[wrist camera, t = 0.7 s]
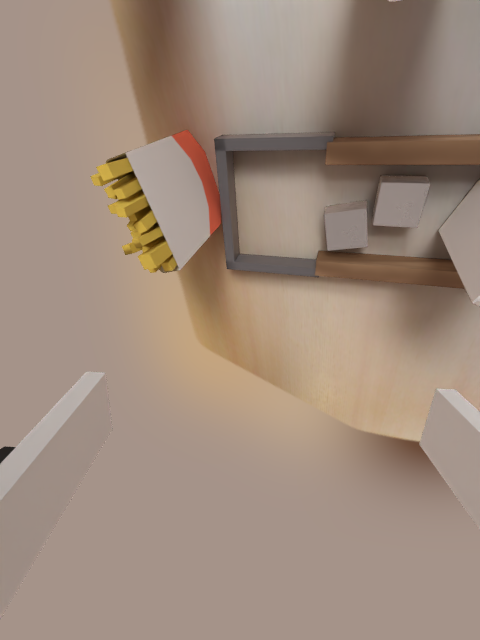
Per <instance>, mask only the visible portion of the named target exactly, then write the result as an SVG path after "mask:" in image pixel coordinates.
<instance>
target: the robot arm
mask: <svg viewBox="0 0 480 640" xmlns="http://www.w3.org/2000/svg"><path fill="white" fill-rule="evenodd" d="M111 431H112V421H111V413H110V405H109V397H108V388H107V381H106V373H101V372H86V373H85V374H84V375H83V376H82V377H81V378H80V379H79V380H78V382H77V383H76V384H75V385H74V386H73V387H72V388H71V389H70V390H69V391H68V392H67V393H66V394H65V395H64V396H63V397H62V399H61V400H60V401H59V402H58V403H57V404H56V405H55V406H54V407H53V408H52V409H51V410H50V411H49V412H48V413H47V415H46V416H45V417H44V418H43V419H42V420H41V421H40V422H39V423H38V424H37V425H36V426H35V428H33V429H32V431H31V432H30V433H29V434H28V435H27V436H26V437H25V438H24V439H23V440H22V441H21V442H20V443H19V444H18V446H17V447H3V448H1V449H0V619H1V617H2V616H3V614H4V612H5V611H6V609H7V607H8V605H9V604H10V602H11V600H12V599H13V597H14V595H15V594H16V592H17V590H18V589H19V587H20V585H21V583H22V582H23V580H24V578H25V577H26V575H27V573H28V572H29V570H30V568H31V566H32V565H33V563H34V561H35V560H36V558H37V556H38V554H39V553H40V551H41V550H42V548H43V546H44V544H45V543H46V541H47V539H48V538H49V536H50V534H51V533H52V531H53V529H54V527H55V526H56V524H57V522H58V521H59V519H60V517H61V516H62V514H63V512H64V511H65V509H66V507H67V505H68V504H69V502H70V500H71V498H72V497H73V495H74V494H75V492H76V490H77V488H78V487H79V485H80V483H81V481H82V480H83V478H84V477H85V475H86V473H87V472H88V470H89V468H90V466H91V465H92V463H93V461H94V460H95V458H96V456H97V455H98V453H99V451H100V449H101V448H102V446H103V444H104V443H105V441H106V439H107V438H108V436H109V434H110V432H111ZM420 446H421V447H422V449H423V450H424V452H425V453H426V454H427V456H428V457H429V459H430V460H431V462H432V463H433V464H434V466H435V467H436V469H437V470H438V472H439V473H440V474H441V476H442V477H443V479H444V480H445V481H446V483H447V484H448V486H449V487H450V489H451V490H452V492H453V493H454V494H455V496H456V497H457V499H458V500H459V501H460V503H461V504H462V506H463V507H464V509H465V510H466V511H467V513H468V514H469V516H470V517H471V519H472V520H473V521H474V523H475V524H476V526H477V527H478V528H479V530H480V412H479V411H478V410H477V409H476V408H475V407H474V406H473V405H472V404H471V403H470V402H468V401H467V400H466V399H465V398H464V397H463V396H462V395H461V394H460V393H459V392H457V391H456V390H454V389H436V390H435V394H434V397H433V400H432V404H431V407H430V410H429V414H428V417H427V420H426V424H425V427H424V430H423V434H422V437H421V440H420Z"/></svg>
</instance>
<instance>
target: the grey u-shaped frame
mask: <svg viewBox="0 0 480 640" xmlns="http://www.w3.org/2000/svg"><path fill="white" fill-rule="evenodd" d="M334 136H335V132H321V133H283V134H245V135H221V136H219V137H217V138H215V139H214V142H215V152H216V162H217V173H218V183H219V193H220V203H221V214H222V224H223V234H224V244H225V255H226V265H227V269H233V270H244V271H255V272H266V273H277V274H289V275H300V276H311V277H319V276H316V275H315V270H316V260H315V259H302V258H289V257H275V256H262V255H249V254H240V251H239V236H238V222H237V207H236V192H235V177H234V163H233V151H261V150H327V142H333V140H334Z"/></svg>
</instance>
